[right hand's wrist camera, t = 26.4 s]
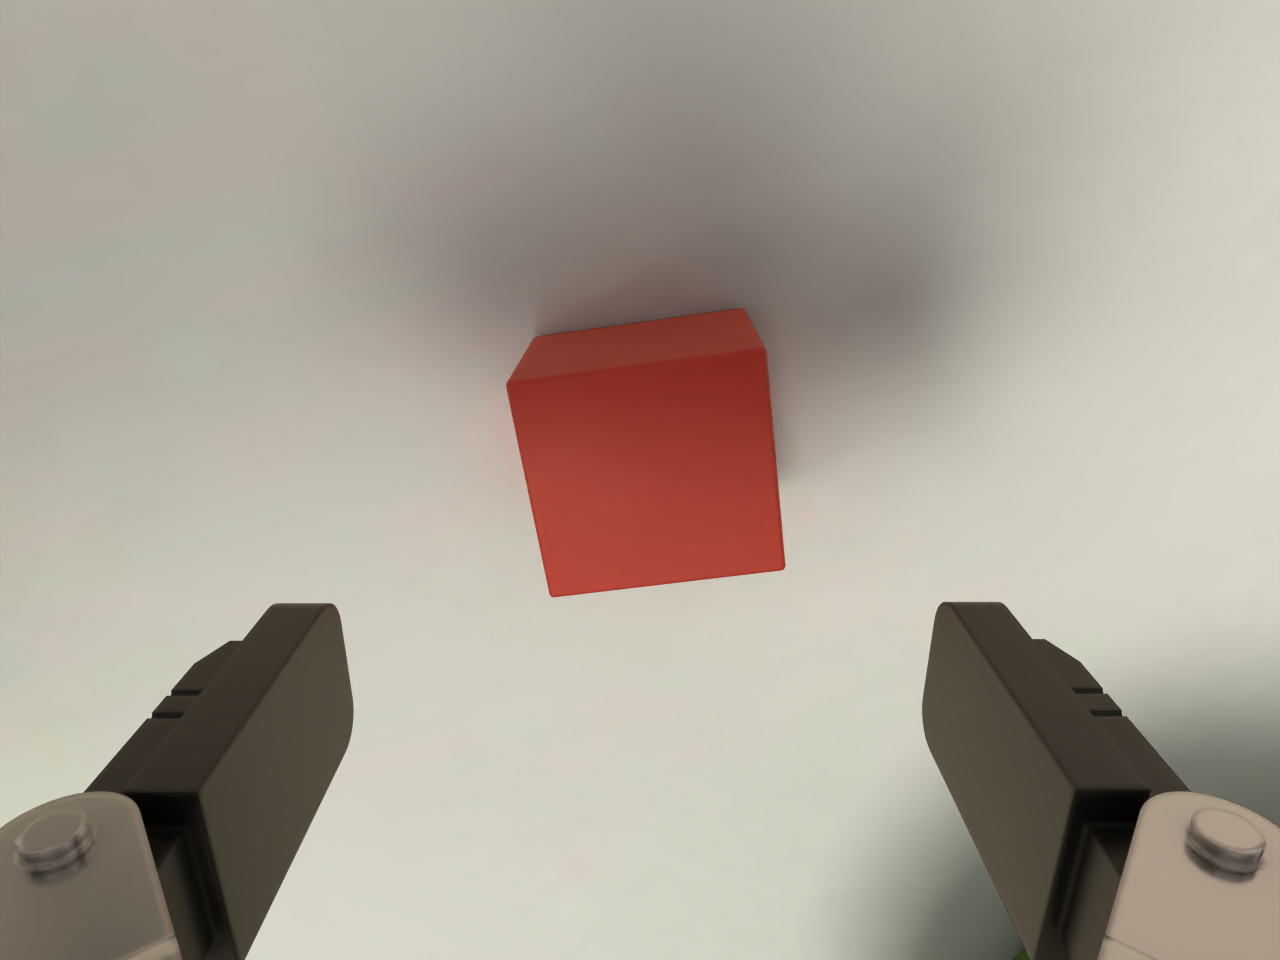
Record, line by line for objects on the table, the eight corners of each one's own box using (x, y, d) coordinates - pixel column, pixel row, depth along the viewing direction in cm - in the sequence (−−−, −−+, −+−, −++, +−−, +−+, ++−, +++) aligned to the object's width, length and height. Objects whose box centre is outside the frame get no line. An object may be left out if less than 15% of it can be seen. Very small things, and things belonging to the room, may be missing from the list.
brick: (533, 336, 20) (504, 383, 16) (744, 307, 20) (766, 347, 16) (568, 518, 22) (549, 599, 18) (762, 494, 22) (786, 571, 18)
